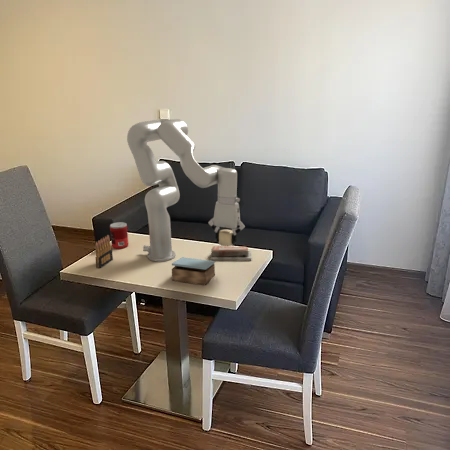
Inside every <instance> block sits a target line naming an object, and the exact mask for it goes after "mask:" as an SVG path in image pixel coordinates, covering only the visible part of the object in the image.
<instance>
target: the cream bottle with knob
mask: <svg viewBox="0 0 450 450" xmlns="http://www.w3.org/2000/svg"><path fill="white" fill-rule="evenodd" d="M232 235H233V232H232V229H220V231H219V242H218V246H219V245H220V246H231V247H232V246H233V245H234V244H232Z"/></svg>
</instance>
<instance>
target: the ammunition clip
mask: <svg viewBox="0 0 450 450" xmlns="http://www.w3.org/2000/svg"><path fill="white" fill-rule="evenodd" d="M113 260H114V256H113V249H112V243H111V238H110V235H109V234H107V235H105V236H103V237H102V238H100V240H99V239H98V241H95V268H96V269H102V268H104V267H105V266H106V265H107V264H109V263H110V262H111V261H113Z"/></svg>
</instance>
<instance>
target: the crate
mask: <svg viewBox="0 0 450 450" xmlns="http://www.w3.org/2000/svg"><path fill="white" fill-rule="evenodd" d="M215 265H216V264H215V263H214V264H213V265H211V266H210V267H209V268H207V269H206V270H204V269H196V268H189V267H181V266H173V267H172V268H171V278H172V280H171V281H173V282H179V283H185V284H187V283H188V284H193V285H194V284H195V285H201V286H207V285H208V284H209V282H210V281H211V280H212V279H213V278H214V277H215V273H216V271H215V267H216V266H215Z"/></svg>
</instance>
